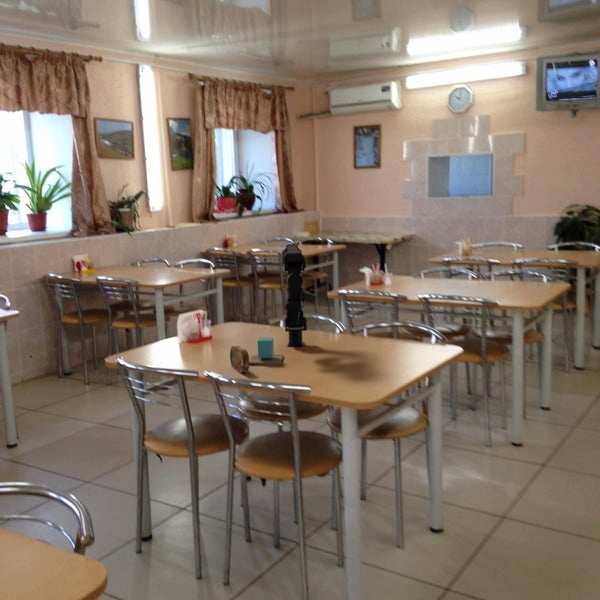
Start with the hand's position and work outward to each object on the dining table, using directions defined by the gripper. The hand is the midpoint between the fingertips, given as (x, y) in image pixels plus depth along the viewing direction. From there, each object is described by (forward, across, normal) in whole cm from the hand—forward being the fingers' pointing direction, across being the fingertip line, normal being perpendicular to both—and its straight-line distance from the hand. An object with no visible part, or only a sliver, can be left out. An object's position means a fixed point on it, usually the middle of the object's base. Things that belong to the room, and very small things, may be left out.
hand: (296, 324), depth 273 cm
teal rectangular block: (+10, -10, +11) cm, 18 cm away
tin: (+12, -22, +19) cm, 31 cm away
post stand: (+12, -10, +11) cm, 19 cm away
